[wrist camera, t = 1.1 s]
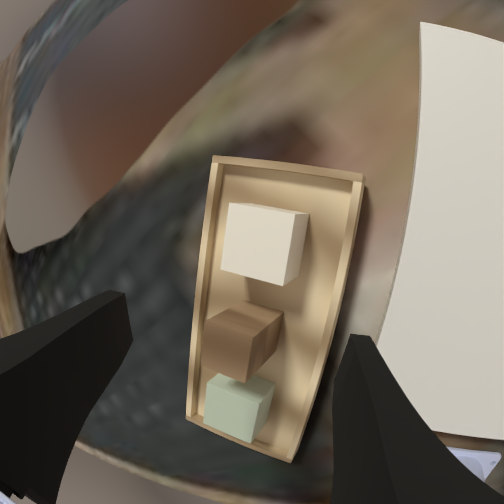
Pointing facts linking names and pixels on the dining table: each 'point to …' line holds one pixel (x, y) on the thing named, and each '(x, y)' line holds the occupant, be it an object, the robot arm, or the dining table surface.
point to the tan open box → (272, 294)
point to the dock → (453, 242)
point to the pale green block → (238, 405)
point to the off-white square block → (264, 242)
